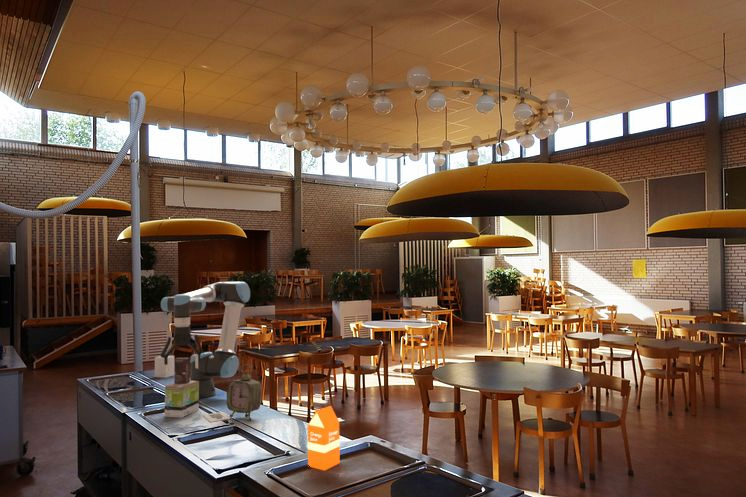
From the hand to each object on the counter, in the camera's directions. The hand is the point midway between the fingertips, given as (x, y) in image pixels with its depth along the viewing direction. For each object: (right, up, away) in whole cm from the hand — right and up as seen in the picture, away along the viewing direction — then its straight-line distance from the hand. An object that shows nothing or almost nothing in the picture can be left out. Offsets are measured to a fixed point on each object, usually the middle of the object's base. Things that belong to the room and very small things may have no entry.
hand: (182, 369), depth 269 cm
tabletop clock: (+33, -20, -11) cm, 40 cm away
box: (0, -7, 0) cm, 7 cm away
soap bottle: (-43, -24, +90) cm, 103 cm away
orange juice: (+75, -18, -71) cm, 106 cm away
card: (+19, -21, -9) cm, 30 cm away
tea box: (0, -21, -1) cm, 21 cm away
